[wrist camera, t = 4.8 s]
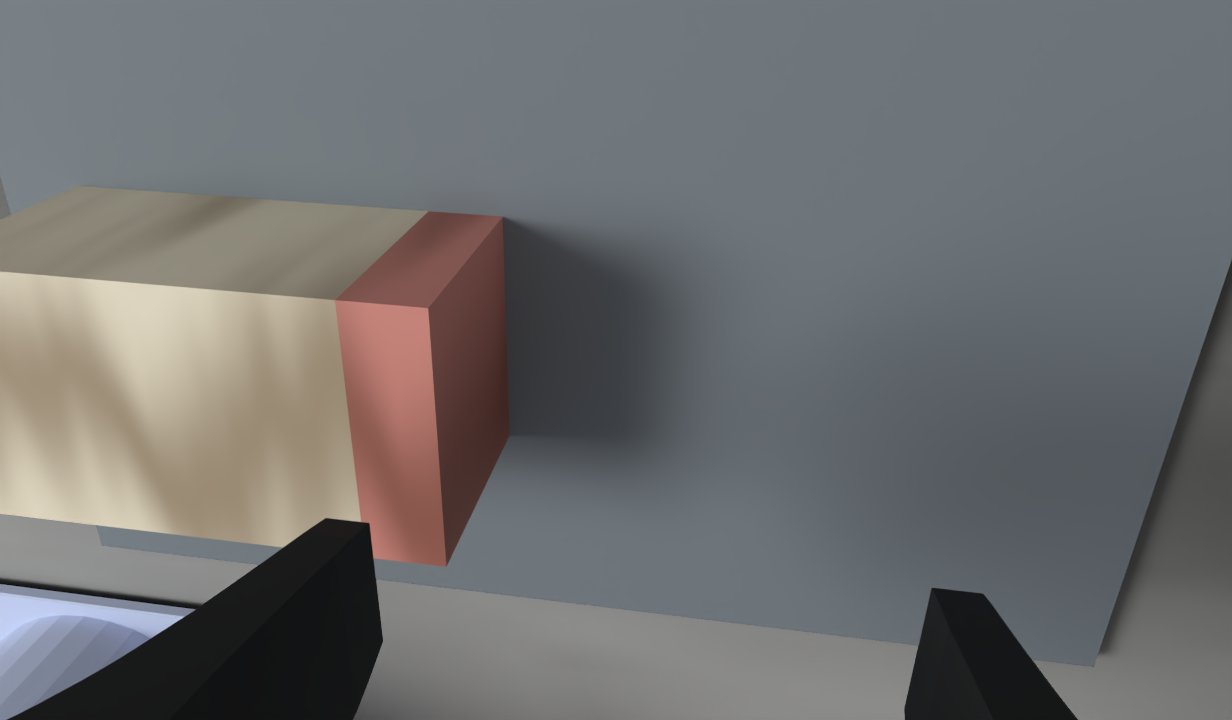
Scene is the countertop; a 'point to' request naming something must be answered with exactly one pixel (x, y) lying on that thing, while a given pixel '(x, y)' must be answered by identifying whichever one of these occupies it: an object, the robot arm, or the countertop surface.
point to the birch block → (251, 367)
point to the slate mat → (734, 268)
